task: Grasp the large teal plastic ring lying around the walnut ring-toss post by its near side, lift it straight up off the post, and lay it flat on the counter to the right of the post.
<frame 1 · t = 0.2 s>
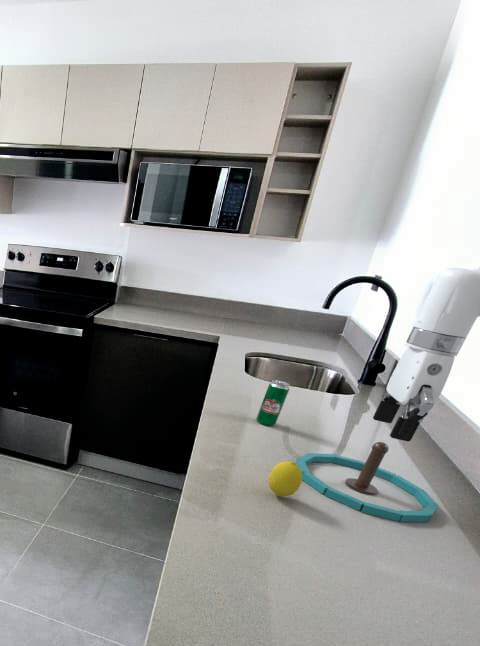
hand: (390, 429, 95), 17 cm above the worktop, tool pointing down, fingers open, 9 cm apart
ring toss: (360, 487, 109), on the worktop
soda can: (264, 423, 140), on the worktop
ring: (360, 487, 109), on the worktop
lemon: (277, 497, 100), on the worktop
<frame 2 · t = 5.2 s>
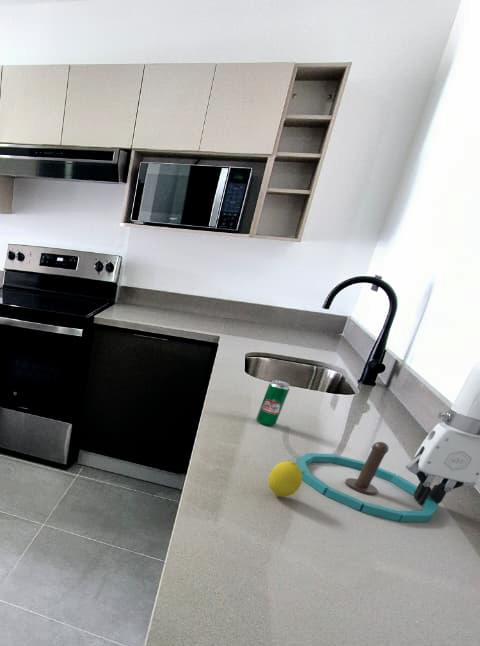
hand: (424, 502, 106), 0 cm above the worktop, tool pointing down, fingers closed on ring, 1 cm apart
ring: (360, 487, 109), on the worktop, touching gripper
everything else where it was.
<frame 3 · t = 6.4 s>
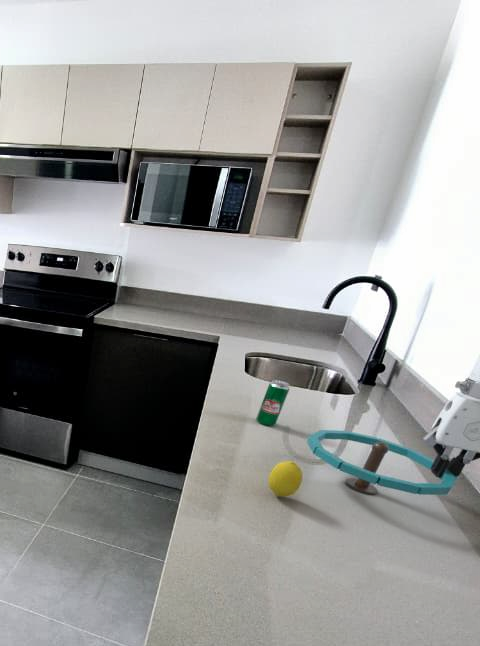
hand: (442, 475, 103), 7 cm above the worktop, tool pointing down, fingers closed on ring
ring: (375, 462, 107), point 6 cm above the worktop, touching gripper
everything else where it was.
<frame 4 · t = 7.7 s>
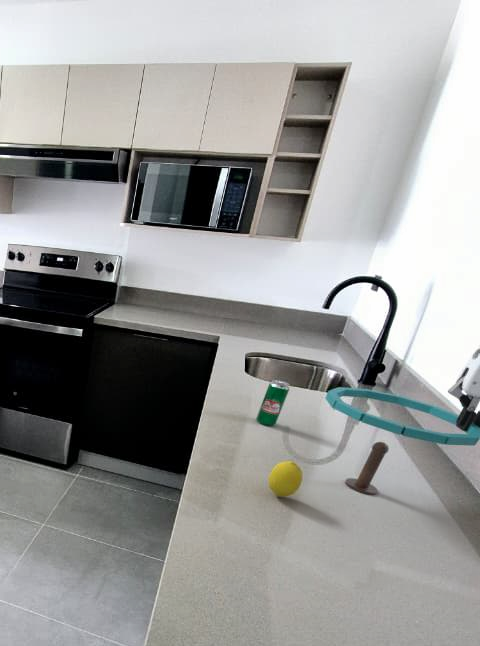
hand: (468, 429, 99), 17 cm above the worktop, tool pointing down, fingers closed on ring
ring: (397, 417, 102), point 17 cm above the worktop, touching gripper
everything else where it was.
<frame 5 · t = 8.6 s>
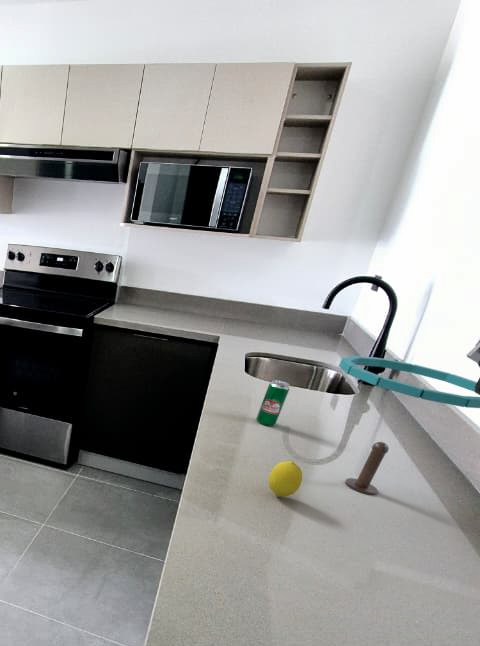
ring: (414, 383, 99), point 24 cm above the worktop, touching gripper
everything else where it was.
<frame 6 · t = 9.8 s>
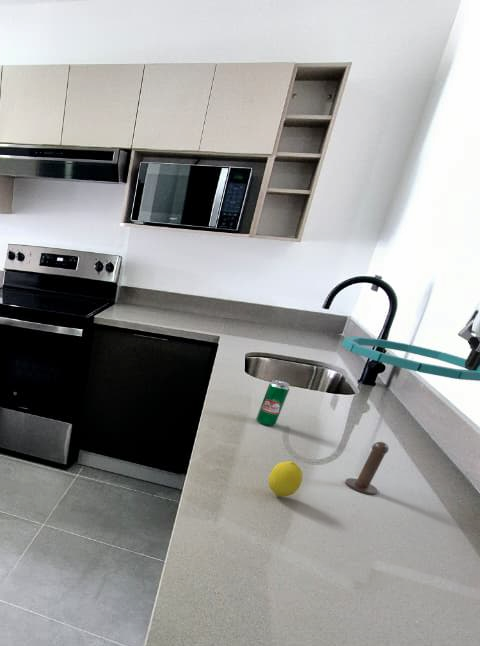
hand: (476, 370, 105), 27 cm above the worktop, tool pointing down, fingers closed on ring
ring: (410, 360, 108), point 27 cm above the worktop, touching gripper
everything else where it was.
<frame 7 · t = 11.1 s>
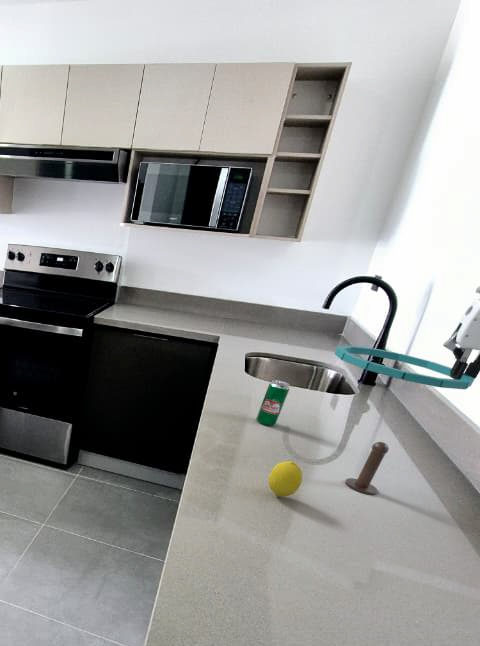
hand: (460, 379, 112), 24 cm above the worktop, tool pointing down, fingers closed on ring
ring: (398, 368, 115), point 23 cm above the worktop, touching gripper
everything else where it was.
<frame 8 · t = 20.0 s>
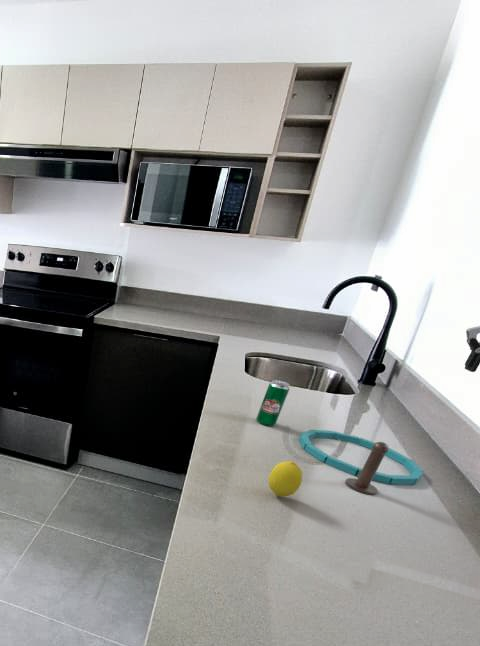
ring: (356, 457, 125), on the worktop
everything else where it was.
at the end: ring inside the target area (0.1 cm from its centre), on the worktop; ring tilted 0°; the gripper is holding nothing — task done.
